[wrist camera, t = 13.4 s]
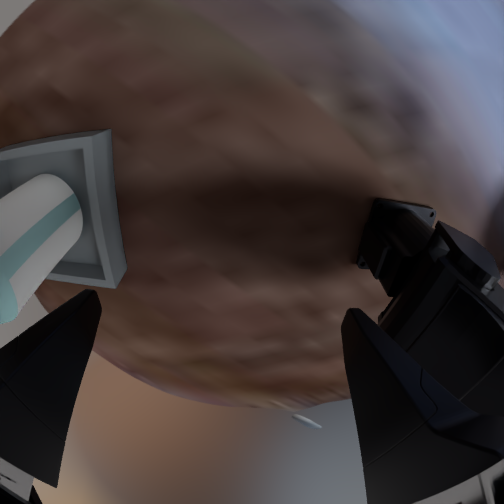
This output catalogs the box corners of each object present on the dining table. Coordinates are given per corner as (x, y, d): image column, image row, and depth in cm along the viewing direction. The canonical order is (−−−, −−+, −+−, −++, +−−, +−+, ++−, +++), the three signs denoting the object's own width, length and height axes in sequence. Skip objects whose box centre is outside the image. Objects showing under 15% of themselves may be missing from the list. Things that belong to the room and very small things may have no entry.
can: (48, 250, 22) (-21, 337, 12) (19, 185, 18) (-71, 257, 8) (98, 235, 21) (22, 340, 11) (68, 159, 18) (-44, 234, 7)
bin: (111, 128, 18) (91, 136, 15) (127, 268, 24) (115, 288, 22) (7, 145, 17) (-14, 155, 15) (32, 258, 24) (18, 274, 21)
